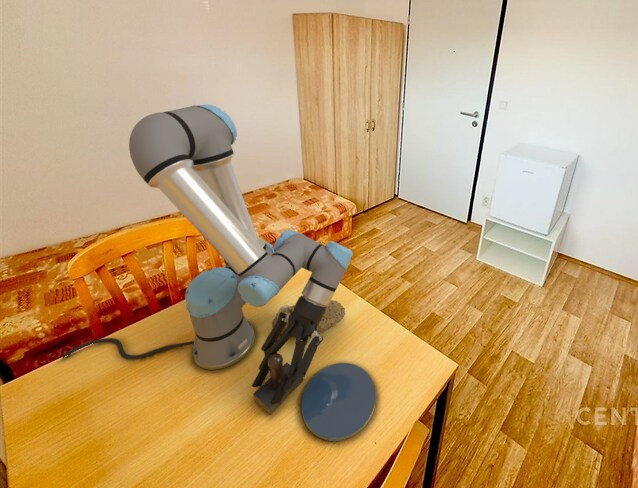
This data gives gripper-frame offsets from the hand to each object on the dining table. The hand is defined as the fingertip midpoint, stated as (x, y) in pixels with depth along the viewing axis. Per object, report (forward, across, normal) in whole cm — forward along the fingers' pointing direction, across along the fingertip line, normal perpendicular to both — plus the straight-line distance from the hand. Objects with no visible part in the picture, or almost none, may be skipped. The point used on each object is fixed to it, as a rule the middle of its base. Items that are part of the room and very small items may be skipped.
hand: (265, 393), depth 75 cm
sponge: (-13, +9, -19) cm, 25 cm away
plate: (-5, -14, -10) cm, 18 cm away
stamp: (0, 0, -5) cm, 5 cm away
